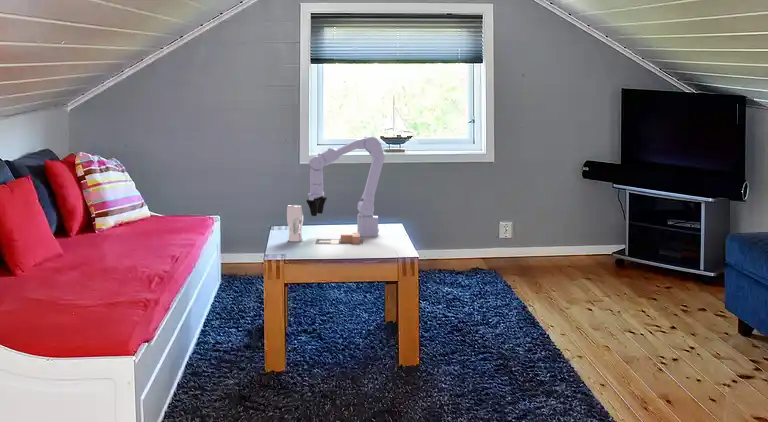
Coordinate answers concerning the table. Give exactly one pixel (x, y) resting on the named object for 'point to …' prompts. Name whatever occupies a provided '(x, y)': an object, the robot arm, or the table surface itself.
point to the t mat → (333, 241)
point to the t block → (351, 238)
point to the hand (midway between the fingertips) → (316, 214)
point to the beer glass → (295, 222)
